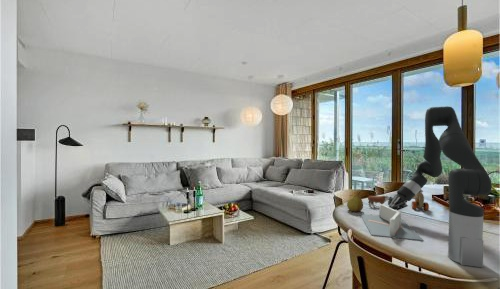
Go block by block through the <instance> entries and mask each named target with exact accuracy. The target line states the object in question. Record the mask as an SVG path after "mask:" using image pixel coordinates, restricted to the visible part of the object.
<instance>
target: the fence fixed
mask: <svg viewBox="0 0 500 289" xmlns="http://www.w3.org/2000/svg"><path fill="white" fill-rule="evenodd" d="M401 219H402V212H401V211H398V212H396V214H395V215H394V216H393V217H392V218H391V219H390V235H391V236H395V232H396V231H397V230H398V228H399V227H401Z"/></svg>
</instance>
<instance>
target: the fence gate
mask: <svg viewBox="0 0 500 289" xmlns="http://www.w3.org/2000/svg"><path fill="white" fill-rule="evenodd" d="M378 211H379V212H378V213H379V217H381V218H383V219H385V220H387V221H389V222H390V219H391V218H392V217H393V216H394V215H395V214H396V212H399V210H394V209H392V208H390V207H389V206H387V205H385V204H384V203H383V204H381V203H379V210H378Z"/></svg>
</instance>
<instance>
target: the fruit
mask: <svg viewBox="0 0 500 289" xmlns="http://www.w3.org/2000/svg"><path fill="white" fill-rule="evenodd" d="M359 194H361V191H359V192H357V193H355V194H353V195H352V196H351V197H350V198H349V199H348V200H347V202H346V207H347V209H348V211H350V212H356V213H357V212H361V211H362V210H363V208H364V202H363V199H362V197H361V196H360V195H359Z"/></svg>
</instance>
